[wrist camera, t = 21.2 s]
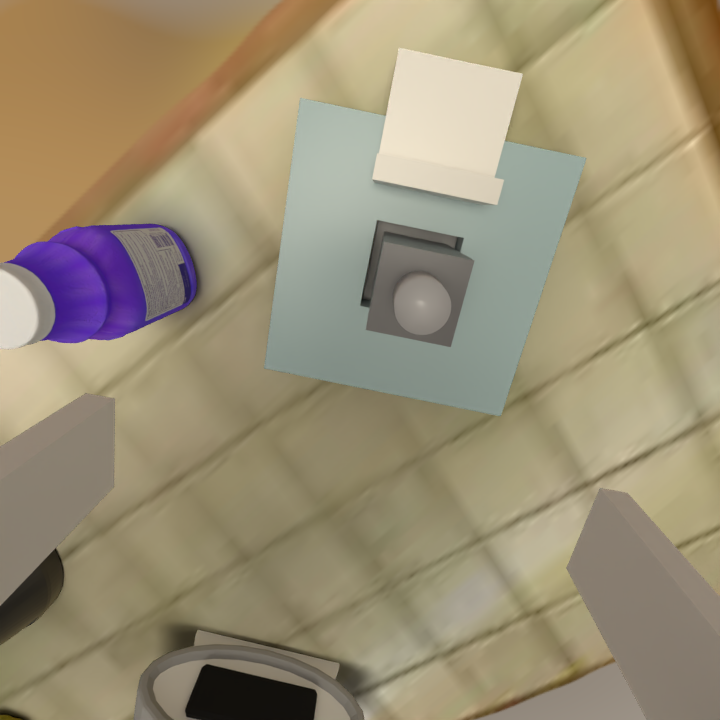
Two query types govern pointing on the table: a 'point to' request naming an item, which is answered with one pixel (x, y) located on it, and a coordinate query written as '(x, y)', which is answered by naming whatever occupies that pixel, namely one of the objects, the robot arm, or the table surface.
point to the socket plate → (420, 220)
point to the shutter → (446, 127)
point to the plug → (418, 289)
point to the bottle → (94, 284)
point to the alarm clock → (241, 684)
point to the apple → (8, 717)
